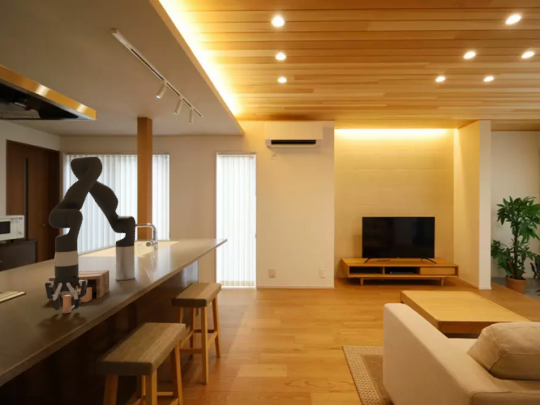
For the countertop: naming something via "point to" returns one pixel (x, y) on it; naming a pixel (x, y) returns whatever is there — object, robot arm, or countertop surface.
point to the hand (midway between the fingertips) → (67, 309)
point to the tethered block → (86, 298)
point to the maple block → (66, 293)
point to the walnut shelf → (92, 281)
